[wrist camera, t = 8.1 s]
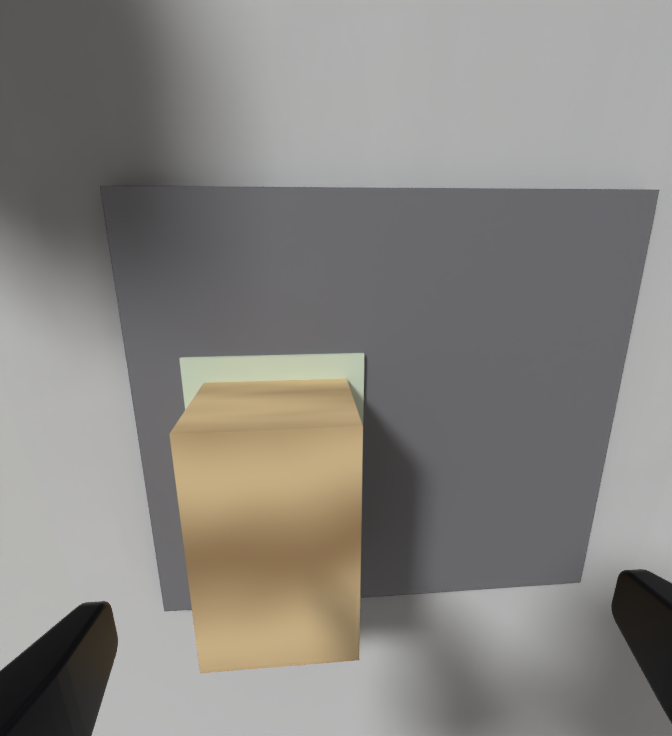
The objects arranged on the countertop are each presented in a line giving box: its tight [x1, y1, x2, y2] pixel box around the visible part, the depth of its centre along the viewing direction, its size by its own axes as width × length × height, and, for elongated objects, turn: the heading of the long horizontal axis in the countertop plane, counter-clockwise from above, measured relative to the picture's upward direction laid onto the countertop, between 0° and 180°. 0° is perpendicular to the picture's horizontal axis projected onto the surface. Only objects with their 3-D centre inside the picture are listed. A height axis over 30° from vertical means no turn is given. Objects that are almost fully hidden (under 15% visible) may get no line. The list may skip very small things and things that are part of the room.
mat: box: [100, 186, 659, 611], centre depth 18 cm, size 20×18×1 cm
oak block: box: [169, 378, 363, 673], centre depth 16 cm, size 9×6×4 cm, turn 1°
